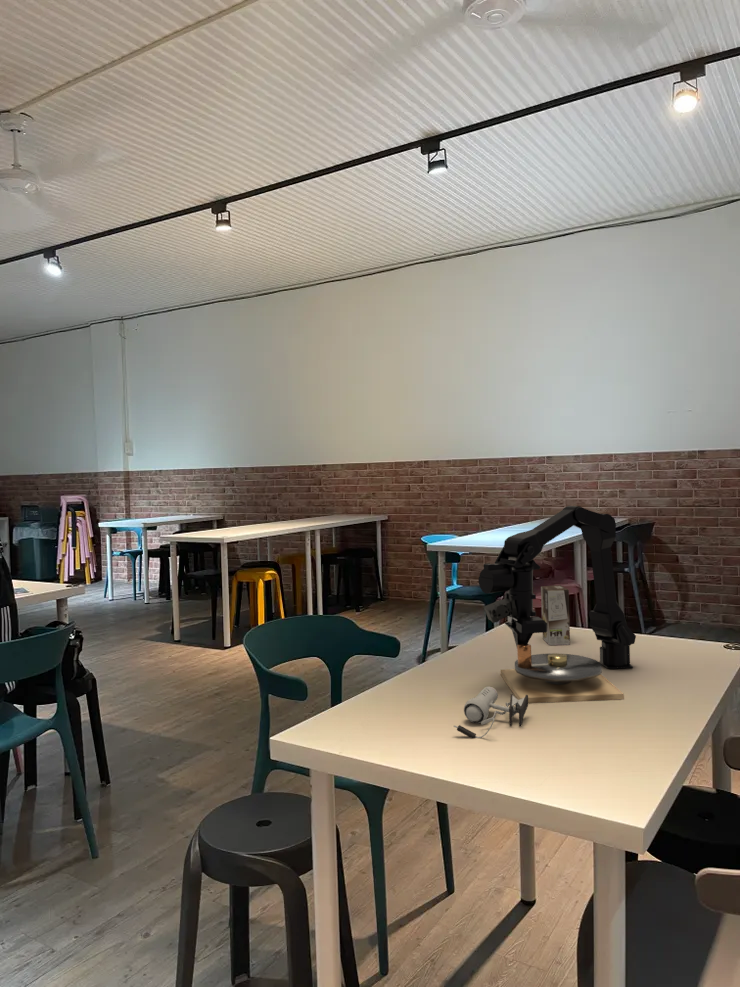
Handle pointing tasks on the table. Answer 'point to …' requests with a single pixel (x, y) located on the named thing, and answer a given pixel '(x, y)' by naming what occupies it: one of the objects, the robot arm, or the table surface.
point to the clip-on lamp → (483, 702)
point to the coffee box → (556, 614)
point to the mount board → (560, 688)
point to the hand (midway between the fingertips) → (520, 653)
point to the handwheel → (555, 666)
